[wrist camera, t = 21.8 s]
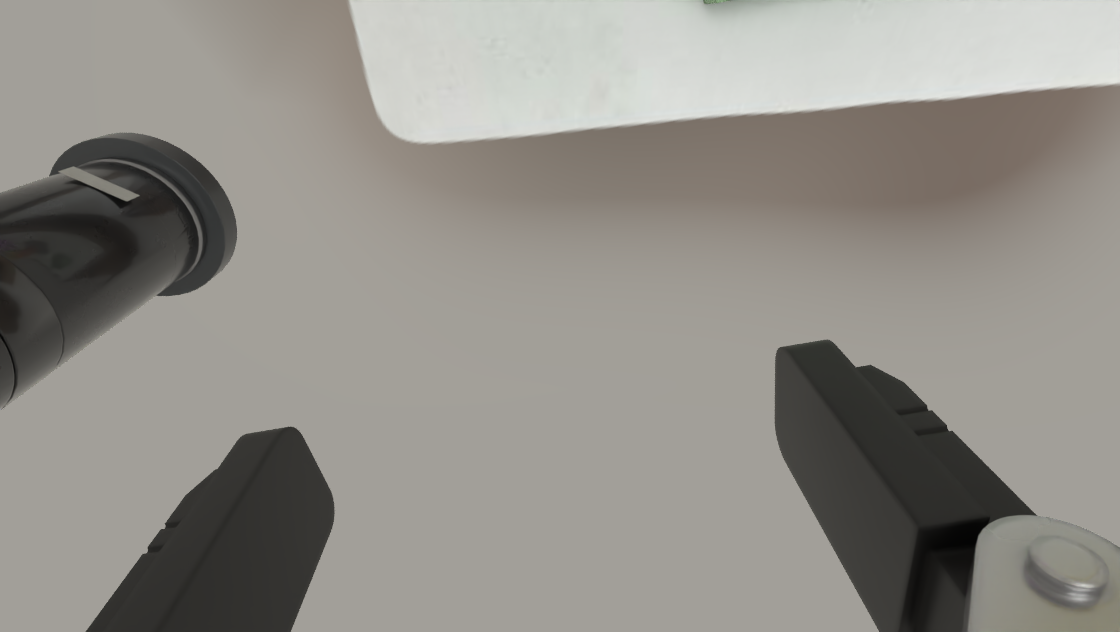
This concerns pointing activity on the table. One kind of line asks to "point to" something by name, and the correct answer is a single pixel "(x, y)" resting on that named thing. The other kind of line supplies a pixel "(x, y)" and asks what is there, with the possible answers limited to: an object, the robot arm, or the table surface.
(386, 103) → the table surface
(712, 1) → the green tray
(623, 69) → the table surface
